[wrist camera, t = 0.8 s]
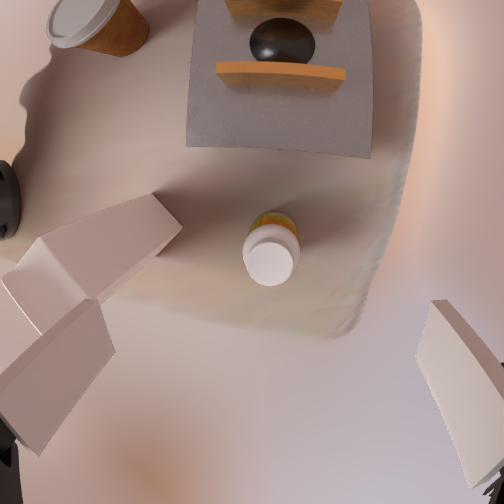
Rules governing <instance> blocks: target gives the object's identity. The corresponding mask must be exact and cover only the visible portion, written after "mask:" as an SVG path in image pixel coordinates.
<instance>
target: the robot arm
mask: <svg viewBox="0 0 504 504" xmlns="http://www.w3.org/2000/svg"><path fill="white" fill-rule="evenodd" d="M19 218H20V194H19V188H18V183H17V180H16V177H15V174H14V172H13V170H12V168H11V167H10V165H9V164H8V163H7V162H5V161H3V160H0V241H3V240H6V239H8V238H10V237H12V236H13V235H14V233H15V232H16V229H17V227H18V223H19ZM114 353H115V350H114V347H113V344H112V341H111V339H110V336H109V333H108V330H107V327H106V324H105V321H104V318H103V314H102V311H101V308H100V304H99V301H98V300H96V299H86V298H85V299H84V300H83V301H82V302H80V303H79V304H78V305H77V306H76V307H74V308H73V309H72V310H71V311H70V312H68V313H67V314H66V315H65V316H64V317H63V318H61V319H60V320H59V321H58V322H57V323H56V324H54V325H53V326H52V327H51V328H50V329H49V330H48V331H46V332H45V333H44V334H43V335H42V336H41V337H40V338H39V339H38V340H36V341H35V342H34V343H33V344H32V345H31V346H30V347H29V348H28V349H27V350H26V351H24V352H23V353H22V354H21V355H20V356H19V357H18V358H17V359H16V360H15V361H14V362H13V363H12V364H11V365H10V366H9V367H8V368H7V369H6V370H5V371H4V372H3V373H2V374H1V375H0V504H23V500H22V491H21V483H20V472H19V457H18V447H17V444H16V443H15V442H14V441H15V440H16V438H17V439H18V440H19V441H20V443H21V444H22V445H23V446H24V447H25V448H26V449H27V450H29V451H30V452H32V453H33V454H35V455H36V456H38V457H39V456H40V454H41V453H42V451H43V450H44V448H45V447H46V445H47V444H48V442H49V441H50V440H51V438H52V437H53V435H54V434H55V432H56V431H57V429H58V428H59V427H60V425H61V424H62V423H63V421H64V420H65V418H66V417H67V415H68V414H69V413H70V411H71V410H72V408H73V407H74V406H75V405H76V403H77V402H78V400H79V399H80V398H81V396H82V395H83V394H84V392H85V391H86V390H87V388H88V387H89V386H90V384H91V383H92V382H93V380H94V379H95V378H96V377H97V375H98V374H99V372H100V371H101V370H102V369H103V367H104V366H105V365H106V364H107V362H108V361H109V360H110V358H111V357H112V356H113V355H114ZM415 360H416V362H417V364H418V366H419V368H420V370H421V372H422V374H423V376H424V378H425V380H426V382H427V384H428V386H429V388H430V391H431V393H432V395H433V397H434V399H435V401H436V404H437V406H438V408H439V410H440V413H441V415H442V417H443V419H444V422H445V424H446V427H447V429H448V431H449V434H450V436H451V439H452V441H453V444H454V446H455V449H456V451H457V454H458V457H459V460H460V462H461V465H462V468H463V471H464V474H465V477H466V480H467V483H468V486H469V489H472V488H475V487H477V486H479V485H481V484H483V483H485V482H487V481H489V480H490V479H491V478H492V477H493V476H494V475H495V474H496V473H497V472H498V471H500V474H501V476H500V477H499V478H498V479H497V480H496V481H495V482H494V483H492V484H491V485H490V486H489V487H488V488H487V489H486V490H485V492H484V494H483V495H486V494H487V493H489V492H490V491H491V490H492V489H493V488H494V490H493V492H492V493H491V494H490V495H489V496H491V499H490V501H489V504H504V363H500V362H499V361H498V360H497V358H496V357H495V356H494V355H493V354H492V352H491V351H490V349H489V348H488V347H487V346H486V344H485V343H484V342H483V341H482V339H481V338H480V337H479V336H478V335H477V333H476V332H475V331H474V330H473V329H472V328H471V326H470V325H469V324H468V323H467V322H466V321H465V320H464V318H463V317H462V316H461V315H460V314H459V313H458V312H457V311H456V309H455V308H454V307H453V306H452V305H451V304H450V303H449V302H448V301H447V300H446V299H445V300H435V301H431V302H430V306H429V310H428V314H427V318H426V322H425V325H424V329H423V333H422V336H421V339H420V343H419V346H418V349H417V352H416V355H415Z"/></svg>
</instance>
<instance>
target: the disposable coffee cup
mask: <svg viewBox="0 0 504 504" xmlns="http://www.w3.org/2000/svg"><path fill="white" fill-rule="evenodd" d="M46 25H47V26H46V33H47V36H48V38H49V39H50V40H51V41H52V43H53V45H55V46H56V47H59V48H69V47H77V48H82V49H87V50H92V51H97V52H101V53H106V54H110V55H114V56H119V57H122V56H127V55H130V54H132V53H133V52H135V51H136V50H138V49H139V48H140V47H141V46H142V45H143V43H144V42H145V40H146V38H147V36H148V33H149V25H148V23H147V22H146V20H145V19H144V18H143V17H142V15H141V14H140V13H139V11H138V10H137V9H136V8H135V6H134V5H133V4H132V2H131V1H130V0H58V2H57V3H56V4H55V6H54V7H53V9H52V11H51V13H50V15H49V17H48V20H47V24H46Z"/></svg>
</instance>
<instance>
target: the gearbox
mask: <svg viewBox="0 0 504 504" xmlns="http://www.w3.org/2000/svg"><path fill="white" fill-rule="evenodd" d="M372 119H373V64H372V43H371V29H370V17H369V8H368V0H198V7H197V14H196V21H195V30H194V38H193V47H192V57H191V68H190V80H189V93H188V109H187V129H186V147H244V148H267V149H283V150H296V151H307V152H317V153H327V154H335V155H343V156H351V157H358V158H365V159H370V157H371V141H372Z"/></svg>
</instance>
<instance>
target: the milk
mask: <svg viewBox="0 0 504 504" xmlns="http://www.w3.org/2000/svg"><path fill="white" fill-rule="evenodd" d="M182 229H183V227H182V225H181V224H180V223H179V222H178V221H177V220H176V219H175V218H174V217H173V216H172V215H171V214H170V213H169V212H168V211H167V209H166V208H165V207H164V206H163V205H162V204H161V203H160V202H159V201H158V200H157V199H156V197H155V196H154V195H153V194H152V193H150V194H147V195H144V196H141V197H138V198H135V199H132V200H130V201H127V202H124V203H121V204H118V205H115V206H113V207H110V208H107V209H105V210H102V211H99V212H97V213H94V214H91V215H89V216H86V217H84V218H81V219H79V220H76V221H74V222H71V223H69V224H66V225H64V226H62V227H59V228H57V229H55V230H52V231H50V232H48V233H45V234H43V235H41V236H39V237H38V238H37V240H36V241H35V242H34V243H33V245H32V246H31V247H30V248H29V250H28V251H27V252H26V254H25V255H24V256H23V258H22V259H21V260H20V262H19V263H18V265H17V266H16V267H15V269H14V270H12V271H11V272H9V273H7V274H6V275H4V276H3V277H2V279H1V281H2V284H3V285H4V287H5V288H6V290H7V291H8V292H9V294H10V295H11V297H12V298H13V300H14V301H15V302H16V304H17V305H18V306H19V308H20V309H21V310H22V312H23V313H24V314H25V315H26V317H27V318H28V319H29V321H30V322H31V323H32V324H33V325H34V327H35V328H36V329H37V330H38V332H39V333H40V334H41V335H43V334H44V333H45V332H46V331H48V330H49V329H50V328H51V327H52V326H53V325H54V324H56V323H57V322H58V321H59V320H60V319H61V318H63V317H64V316H65V315H66V314H67V313H68V312H70V311H71V310H72V309H73V308H74V307H76V306H77V305H78V304H79V303H80V302H82V301H83V300H84V299H85V298H86V299H96V300H98V301H99V304H100V305H101V304H103V303H104V302H105V301H106V300H107V299H108V298H109V297H110V296H111V295H112V294H114V293H115V292H116V291H117V290H118V289H119V288H120V287H121V286H123V285H124V284H125V283H126V282H127V281H128V280H129V279H130V278H132V277H133V276H134V275H135V274H136V273H137V272H138V271H140V270H141V269H142V268H143V267H144V266H145V265H147V264H148V263H149V262H150V261H151V260H152V259H154V258H155V257H156V256H157V255H158V254H159V253H160V251H161V250H162V249H163V248H164V247H165V246H166V245H167V244H168V243H169V242H170V241H171V240H172V239H173V238H174V237H175V236H176V235H177V234H178V233H179V232H180V231H181V230H182Z"/></svg>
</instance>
